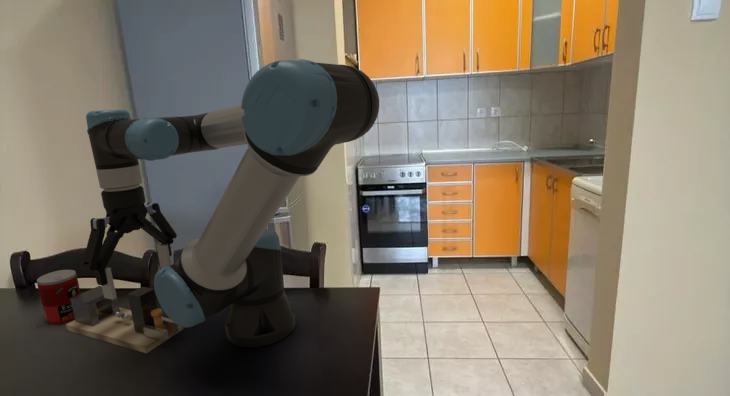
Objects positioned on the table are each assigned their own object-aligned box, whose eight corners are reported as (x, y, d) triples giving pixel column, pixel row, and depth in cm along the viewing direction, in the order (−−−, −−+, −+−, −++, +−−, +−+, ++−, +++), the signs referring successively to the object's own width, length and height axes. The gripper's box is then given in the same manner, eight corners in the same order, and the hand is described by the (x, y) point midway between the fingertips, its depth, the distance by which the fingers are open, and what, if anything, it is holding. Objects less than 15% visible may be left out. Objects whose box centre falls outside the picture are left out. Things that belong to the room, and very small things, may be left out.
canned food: (65, 326, 96) (55, 283, 93) (38, 323, 97) (27, 281, 95) (92, 310, 103) (84, 270, 100) (66, 308, 105) (57, 268, 102)
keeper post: (168, 331, 89) (164, 309, 88) (159, 336, 87) (155, 314, 86) (161, 329, 90) (157, 307, 89) (152, 334, 88) (148, 312, 87)
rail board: (184, 328, 93) (183, 322, 92) (146, 353, 84) (145, 347, 83) (108, 309, 103) (107, 304, 102) (67, 330, 94) (65, 324, 94)
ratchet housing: (120, 312, 98) (115, 289, 97) (92, 326, 92) (87, 302, 91) (103, 308, 101) (99, 285, 99) (75, 321, 95) (70, 298, 93)
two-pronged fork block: (182, 329, 89) (176, 291, 87) (164, 340, 85) (158, 301, 83) (123, 315, 96) (116, 280, 94) (105, 325, 92) (97, 288, 90)
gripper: (160, 176, 95) (174, 260, 100) (43, 201, 73) (69, 308, 77) (184, 176, 92) (197, 264, 97) (69, 202, 70) (94, 314, 75)
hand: (140, 284), depth 87 cm, fingers open, 13 cm apart
